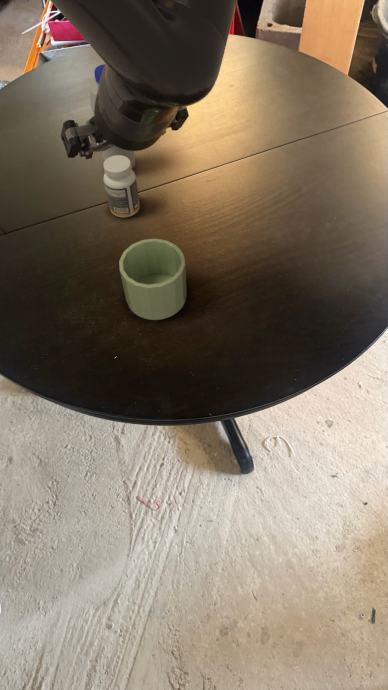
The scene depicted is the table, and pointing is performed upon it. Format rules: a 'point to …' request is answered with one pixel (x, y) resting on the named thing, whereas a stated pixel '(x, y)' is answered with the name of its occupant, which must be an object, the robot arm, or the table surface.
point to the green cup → (154, 278)
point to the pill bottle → (121, 186)
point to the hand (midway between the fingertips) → (117, 142)
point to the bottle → (93, 94)
